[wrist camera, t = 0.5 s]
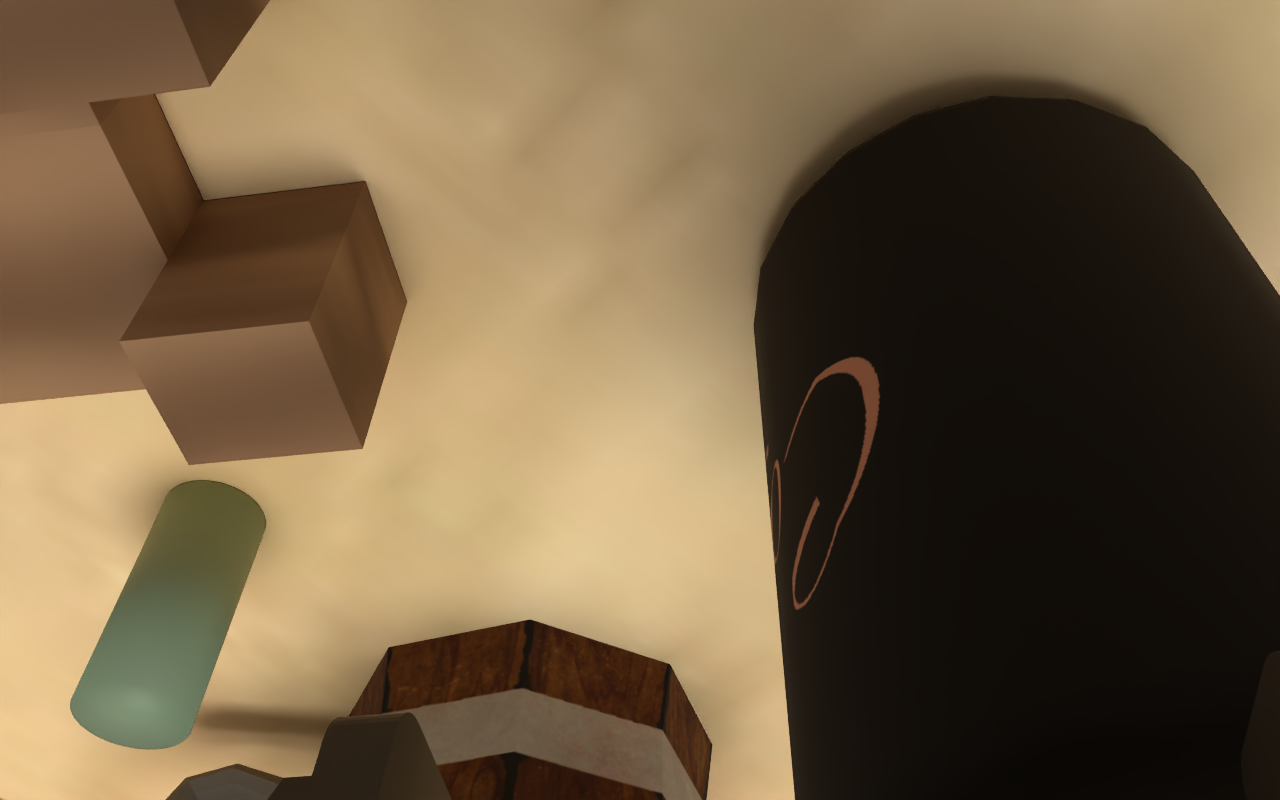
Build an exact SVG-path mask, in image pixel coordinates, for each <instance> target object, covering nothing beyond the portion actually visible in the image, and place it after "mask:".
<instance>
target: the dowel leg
mask: <svg viewBox="0 0 1280 800" xmlns="http://www.w3.org/2000/svg"><path fill="white" fill-rule="evenodd" d="M265 528H266V520H265V516H264V513H263V511H262V510H261V508H260V507H259V505H258V504H257V503H256V502H255V501H254V500H253V499H252V498H250V497H249V496H248V495H246V494H245V493H243V492H242V491H240V490H238V489H236V488H234V487H231V486H229V485H226V484H222V483H218V482H212V481H192V482H187V483H183V484H181V485H178V486H177V487H175V488H174V489H172V490H171V491H170V492H169V494H168V495H167V497H166V499H165V501H164V503H163V505H162V507H161V509H160V511H159V514H158V516H157V518H156V520H155V522H154V524H153V526H152V528H151V531H150V533H149V535H148V537H147V539H146V541H145V543H144V545H143V548H142V550H141V552H140V554H139V556H138V558H137V560H136V562H135V565H134V567H133V569H132V571H131V573H130V575H129V577H128V579H127V582H126V584H125V586H124V588H123V590H122V592H121V594H120V596H119V599H118V601H117V603H116V605H115V607H114V609H113V611H112V613H111V616H110V618H109V620H108V622H107V624H106V626H105V628H104V630H103V633H102V635H101V637H100V639H99V641H98V643H97V645H96V647H95V650H94V652H93V654H92V656H91V658H90V660H89V662H88V664H87V667H86V669H85V671H84V673H83V675H82V677H81V679H80V681H79V684H78V686H77V688H76V690H75V692H74V694H73V696H72V698H71V702H70V709H71V712H72V714H73V716H74V718H75V719H76V721H77V722H78V723H79V724H80V725H81V726H82V727H84V728H85V729H86V730H88V731H89V732H90V733H92V734H94V735H96V736H97V737H99V738H102V739H104V740H106V741H109V742H111V743H114V744H118V745H121V746H125V747H130V748H137V749H163V748H168V747H172V746H175V745H177V744H179V743H181V742H183V741H184V740H185V739H186V738H187V737H188V736H189V735H190V732H191V730H192V727H193V724H194V722H195V719H196V716H197V713H198V711H199V708H200V705H201V702H202V700H203V697H204V694H205V692H206V689H207V686H208V683H209V681H210V678H211V675H212V673H213V670H214V667H215V664H216V662H217V659H218V656H219V654H220V651H221V648H222V645H223V643H224V640H225V637H226V635H227V632H228V629H229V626H230V624H231V621H232V618H233V616H234V613H235V610H236V607H237V605H238V602H239V599H240V596H241V594H242V591H243V588H244V586H245V583H246V580H247V577H248V575H249V572H250V569H251V567H252V564H253V561H254V558H255V556H256V553H257V550H258V548H259V545H260V542H261V539H262V537H263V534H264V531H265Z"/></svg>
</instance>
